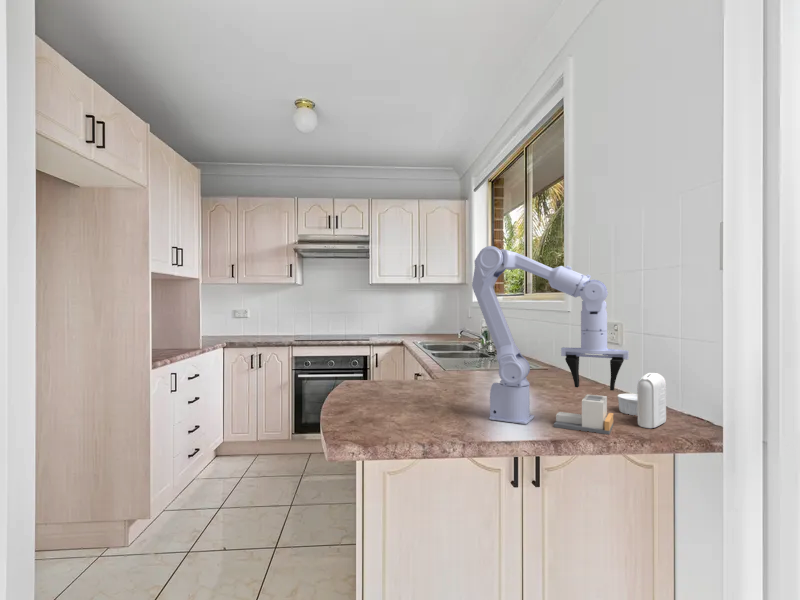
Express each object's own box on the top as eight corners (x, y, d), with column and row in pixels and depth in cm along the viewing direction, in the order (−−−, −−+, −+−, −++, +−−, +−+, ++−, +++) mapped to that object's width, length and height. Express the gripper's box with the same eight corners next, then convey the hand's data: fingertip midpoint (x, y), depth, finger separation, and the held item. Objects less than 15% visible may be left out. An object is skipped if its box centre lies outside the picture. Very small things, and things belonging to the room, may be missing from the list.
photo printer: (649, 418, 113) (649, 369, 113) (668, 421, 110) (668, 371, 110) (634, 426, 106) (634, 374, 106) (654, 430, 103) (654, 376, 103)
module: (581, 426, 103) (581, 399, 103) (587, 418, 110) (586, 393, 110) (603, 429, 101) (603, 402, 101) (607, 421, 108) (606, 395, 108)
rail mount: (553, 427, 105) (553, 415, 106) (561, 418, 113) (561, 407, 113) (609, 434, 99) (609, 421, 99) (613, 424, 107) (613, 413, 107)
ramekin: (642, 408, 124) (642, 393, 124) (662, 417, 115) (662, 400, 115) (611, 409, 124) (611, 393, 124) (628, 417, 115) (628, 400, 115)
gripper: (629, 330, 105) (629, 388, 105) (564, 328, 112) (565, 382, 112) (627, 332, 99) (627, 393, 99) (559, 330, 106) (559, 387, 106)
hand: (594, 388), depth 105 cm, fingers open, 7 cm apart
